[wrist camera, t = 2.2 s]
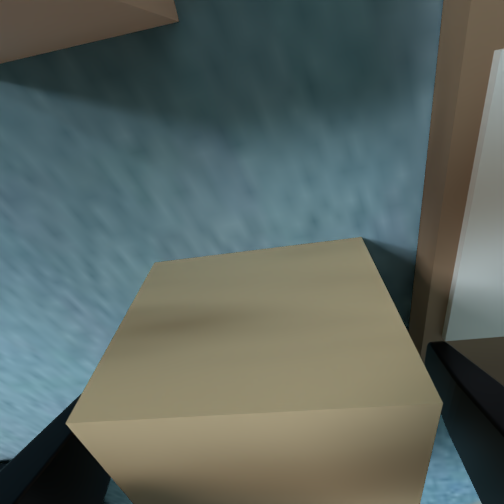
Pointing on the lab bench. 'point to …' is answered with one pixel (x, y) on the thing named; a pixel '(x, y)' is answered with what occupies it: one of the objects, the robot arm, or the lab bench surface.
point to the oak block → (263, 384)
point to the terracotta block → (74, 23)
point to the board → (464, 192)
